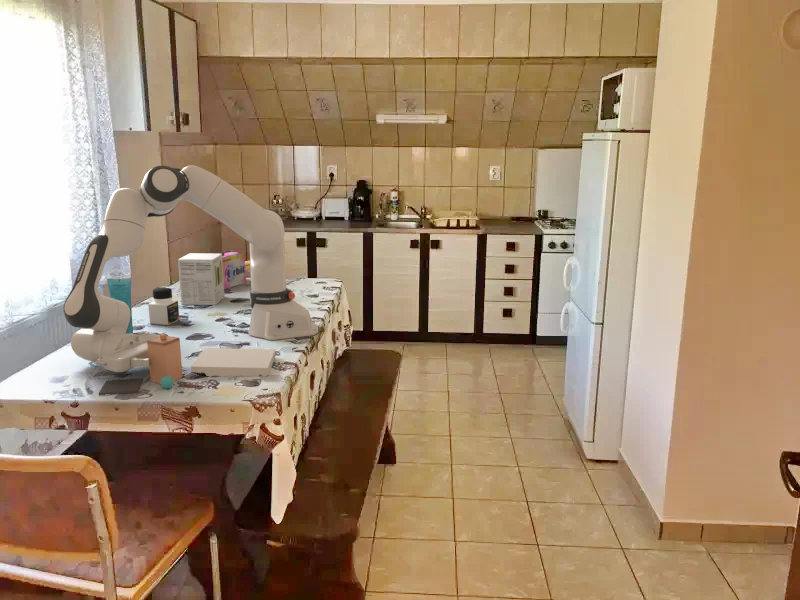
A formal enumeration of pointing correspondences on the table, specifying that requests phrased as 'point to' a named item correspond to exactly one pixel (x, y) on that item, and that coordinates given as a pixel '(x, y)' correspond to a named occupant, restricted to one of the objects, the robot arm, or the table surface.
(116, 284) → the tube
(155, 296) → the medicine bottle
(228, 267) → the gum box
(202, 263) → the supplement box
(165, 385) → the ball
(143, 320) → the table surface
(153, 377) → the tan box with knob
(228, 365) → the cream flat block
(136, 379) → the mat
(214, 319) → the table surface
